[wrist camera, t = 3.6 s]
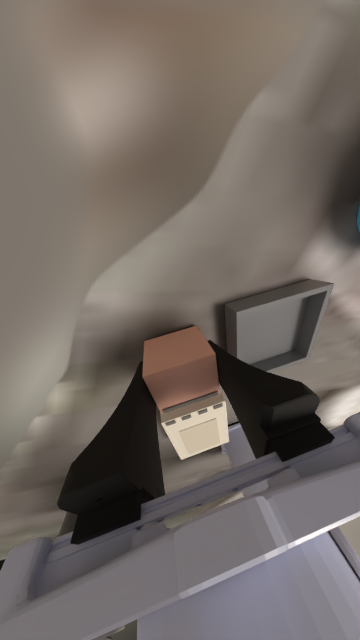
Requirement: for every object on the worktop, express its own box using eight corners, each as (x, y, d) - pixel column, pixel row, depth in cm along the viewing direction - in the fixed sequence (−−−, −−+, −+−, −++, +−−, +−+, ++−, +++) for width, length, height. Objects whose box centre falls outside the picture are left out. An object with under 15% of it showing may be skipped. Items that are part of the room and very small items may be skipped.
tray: (293, 348, 18) (308, 359, 16) (228, 370, 17) (237, 383, 15) (310, 279, 13) (334, 283, 12) (224, 303, 13) (236, 312, 11)
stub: (203, 360, 15) (220, 395, 11) (158, 374, 14) (161, 415, 11) (197, 325, 13) (216, 354, 9) (144, 341, 12) (142, 378, 9)
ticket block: (219, 418, 22) (229, 442, 19) (177, 434, 21) (181, 460, 19) (213, 377, 17) (226, 401, 14) (159, 396, 16) (161, 424, 14)
